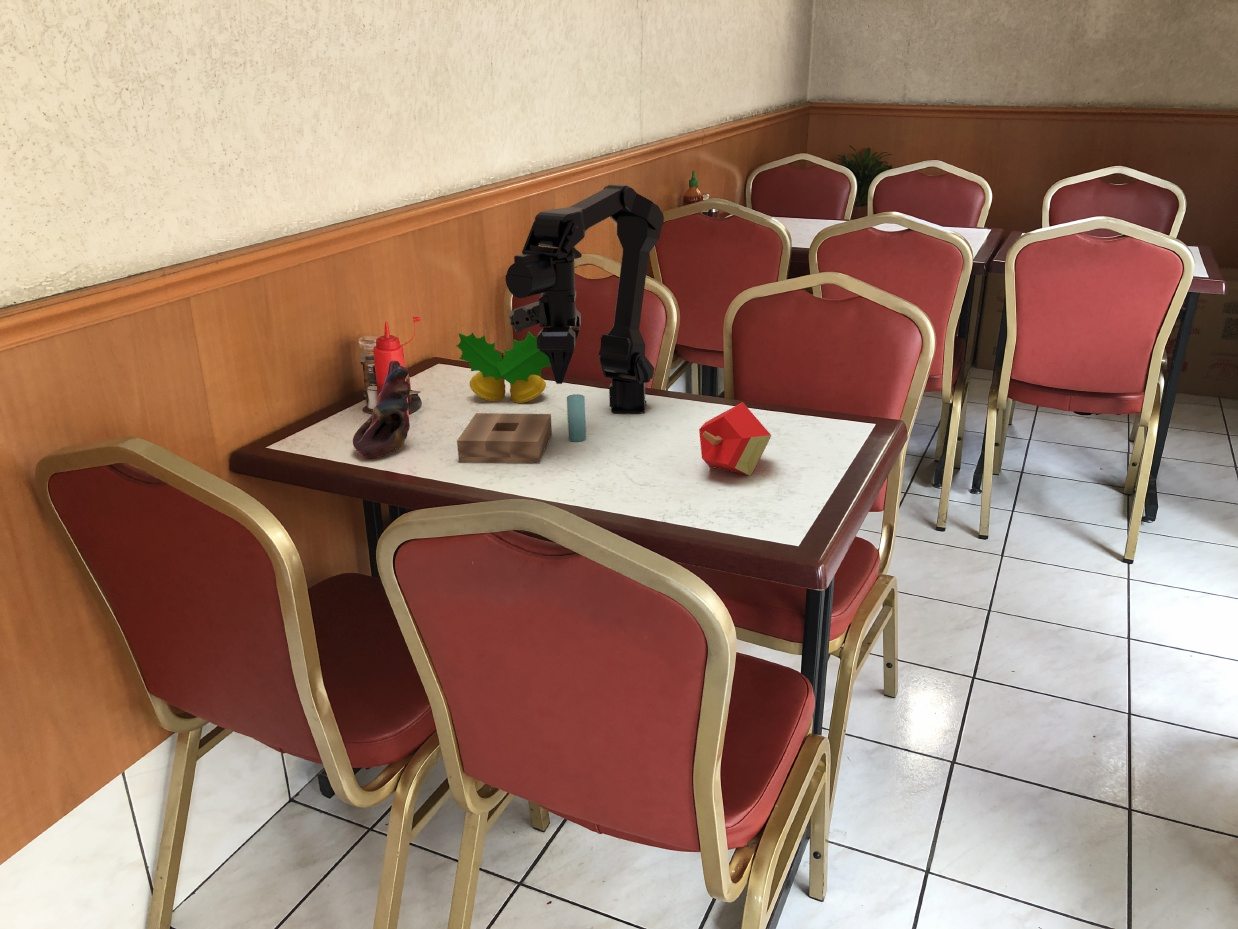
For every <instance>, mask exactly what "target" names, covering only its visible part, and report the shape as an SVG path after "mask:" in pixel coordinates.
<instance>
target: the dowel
mask: <svg viewBox="0 0 1238 929" xmlns="http://www.w3.org/2000/svg"><path fill="white" fill-rule="evenodd" d="M585 398H586V397H585V395H584V394H580V393H579V394H576V393H575V394H569V395H567V396H566V408H567V409H566V410H567V411H566V413H567V414H566V415H567V431H568V432H567V433H568V436H567V437H568V441H570V442H573V443H579V442H580V443H581V442H584V441H586V440H587V427H586V425H587V424H586V399H585Z"/></svg>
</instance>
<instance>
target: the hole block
mask: <svg viewBox="0 0 1238 929" xmlns="http://www.w3.org/2000/svg"><path fill="white" fill-rule="evenodd" d="M552 426H553V425H552V413H506V412H505V413H502V412H501V413H500V412H499V413H496V412H495V413H493V412H492V413H491V412H489V413H487V412H476V413H475V414H474V416H472V418H471V419H470V421H469V423H468V424H467V425H466V427H465V428H464V430H463V431H462V433H461V434H460V435H459V437H458V438H457V439H456V445H457V455H458V456H457V457H458V463H477V464H479V463H481V464H482V463H486V464H487V463H489V464H536V465H537V464H540V462H541V459H542V457H543V456H544V452H545V451H546V449H547V446H548V444H549V442H550V441H551V438H552V435H553V430H552V429H553V427H552Z"/></svg>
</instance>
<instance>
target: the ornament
mask: <svg viewBox="0 0 1238 929" xmlns="http://www.w3.org/2000/svg"><path fill="white" fill-rule="evenodd" d="M458 337H459V340H460V341H459V343H458V344H456V345H455V347H457V348H458V349H459V350H460V351H461V353H462V354H461V355H460V357H459V360H461V361H464V362H467V363H468V364H469V365H470V372H477V373H475V375H473V376H472V377H471V378H470V381H469V388H470V389H471V390H472V393H474V394H475V395H476V396H477V397H479V398H480V399H483V400H485V401H489V402H497V401H501V400H502V399H503V398H505V396H506V383H505V382H507V383H509V386H510V388H509V393H510V399H511V401H512V402H513V403H515V402H516V403H515V404H522V403H523V404H524V403H527V402H530V401H532V400H534V399H536V398H538V397H539V396H540V395H541V394H542V393H543V392H544V391H545V389H546V387H547V382H546V381H545V379H544V378H542V370H543V369H544V368H546V367H549V368H551V364H550V361H549V358H548V356H547V355H545V354H544V353H543V352H540V351H539V349H537V336H534V335H533V334H532V333H531V332H530V331H528V332H527V334H526V337H525V339H523V340H519V341H518V339H515V338H513V345H512V349H510V350H508V349H507V350H506V349H503V350H504V351H503V352H502V350H498V349H496V347H495V346H496V342H493V343H488V342H487V339H486V335H485V334H484V335H482V336H481V337H476V335H475V334H474V332H471V333H470V334H469V335H465V334H463V333H461V332H458Z"/></svg>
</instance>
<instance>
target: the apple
mask: <svg viewBox="0 0 1238 929" xmlns="http://www.w3.org/2000/svg"><path fill="white" fill-rule="evenodd" d="M698 431H699V442H700V443H699V444H700V451H701V452H700V453H701V459H702V460H703V461H704V462H705V463H706V464H707V466H708V467H709V468H714V469H719V470H723V471H727V472H732V473H736V474H741V475H745V476H749V477H751V475H752V474H753V472H754V471H755V468H756V467H757V466H758V464H759V462H760V459H761V457H762V456H763V454H764V452H765V449H766V447H767V445H768V443H769V442H770V439H771V438H772V434H771V433H770V431H768V429H767V428H766V427H765V426H764V425H763V424H762V423H761V421H760V420H759V419H758V418H757V417H756V415H755V414H754V413H753V412H752V411H751V410H750V409H749V408H748V407H747V405H746V404H745V403H744V402H742V401H741V402H740V403H738V404H736V405H734V406H733V407H731V408H729V409H727V410H725V411H723V412H721V413H720V414H718V415H716V416H714V417H712V418H711V419H709V420H707V421H705V422H704V423H703V424H702V425H701V426H700V428H699V429H698Z"/></svg>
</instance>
